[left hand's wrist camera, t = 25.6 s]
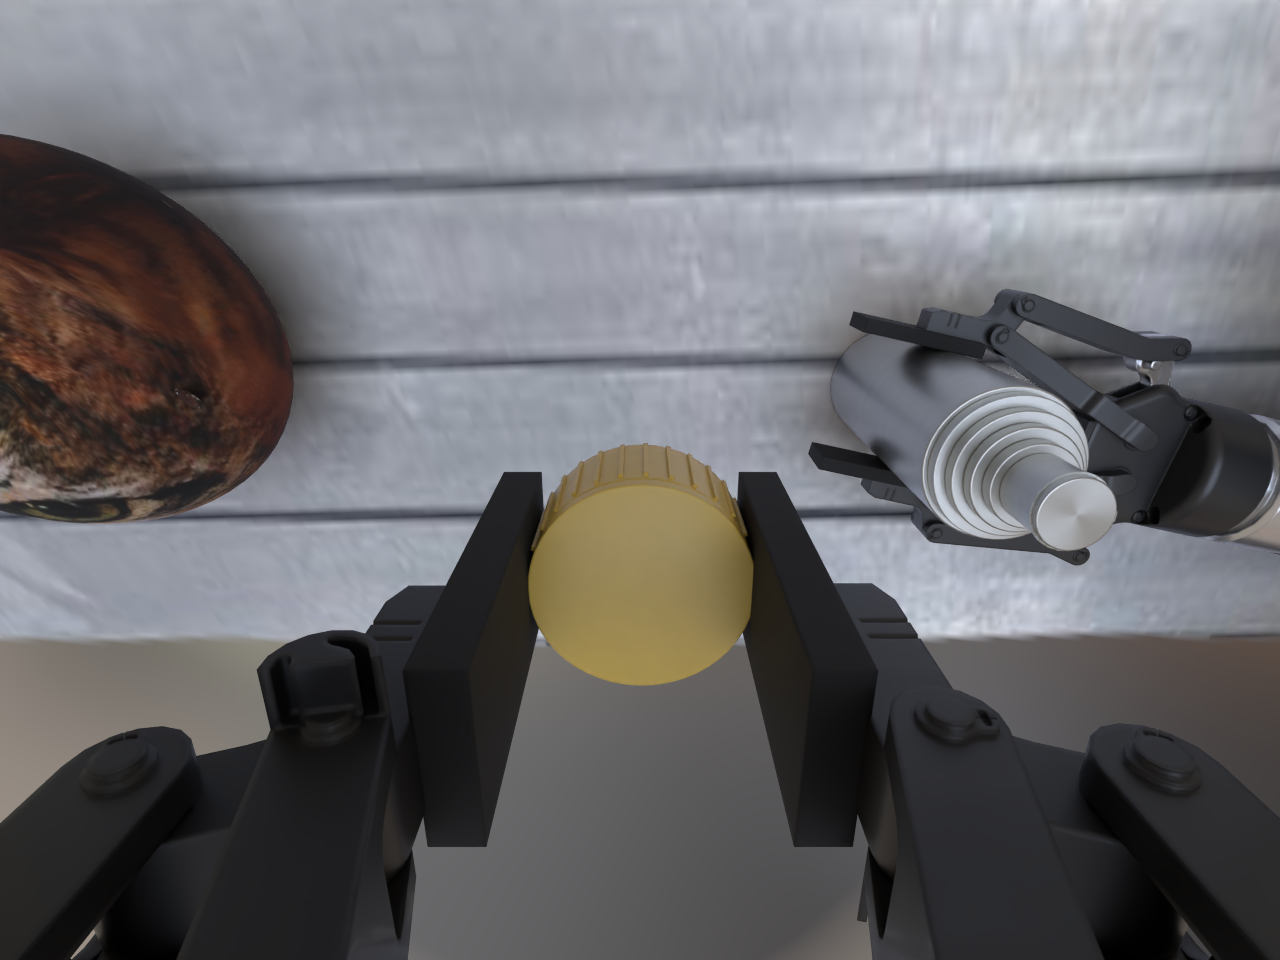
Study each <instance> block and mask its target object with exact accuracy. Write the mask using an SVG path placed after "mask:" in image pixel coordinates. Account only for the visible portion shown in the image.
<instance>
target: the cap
mask: <svg viewBox="0 0 1280 960" xmlns="http://www.w3.org/2000/svg"><path fill="white" fill-rule="evenodd" d="M746 536H748V534H747V530H746V527H745V524H744V521H743V518H742V515H741V512H740V509H739V506H738V503H737V500H736V498H732V497H731V495H730V493H729V491H728V488H727V485H726V482H725V481H724V480H722V481H721V480H720V479H719V478H718V477H717V476H716V474H715V473H713V472H712V470H711V467H710V466H709V465H707V466H705V465H704V464H702V463H701V462H699V461H698V460H696V459H695V458H693V457H692V455H691V454H689V453H688V455H686V454H684V453H682V452H679V451H676V450H673V449H671V447H669V446H666V447H660V446H654V445H648V443H643V445H629V446H625V445H620V447H618V448H614V449H611V450H608V451H604V452H603V451H599V452H598V454H597V455H595V456H593V457H591V458H589V459H588V460H586V461H585V462H583V461H581V462H579V463H578V466H577V467H576V468H575V469H574V470H573V471H571V472H570V473H569V474H568V475H567V476H566V475H564V476H563V477H562V480H561V483H560V485H559V486H558V488H557V489H556V491H555V492H554V493H553V492H551V494H550V496H549V499H548V503H547V506H546V509H545V511H543V513H542V516H541V519H540V522H539V525H538V528H537V532H536V535H535V538H534V541H533V544H532V547H531V551H534V553H533V556H532V559H531V562H530V567H529V573H528V591H529V603H530V606H531V610H532V613H533V616H534V619H535V621H536V623H537V625H538V627H539V629H540V631H541V632H542V634H543V635H544V637H545V639H546V640H547V641H548V642H549V644H550V645H551V646H552V647H553V648H554V650H555V651H557V652H558V653H559V654H560V655H561V656H562V657H563V658H564V659H565V660H567V661H568V662H570V663H571V664H572V665H574V666H575V667H577V668H579V669H581V670H582V671H584V672H586V673H588V674H590V675H593V676H595V677H598V678H600V679H604V680H607V681H611V682H615V683H620V684H626V685H657V684H664V683H670V682H673V681H677V680H681V679H684V678H686V677H689V676H691V675H694V674H696V673H698V672H700V671H702V670H703V669H705V668H707V667H709V666H710V665H712V664H713V663H714V662H716V661H717V660H719V659H720V658H721V657H722V656H723V655H724V654H725V653H726V652H728V651H729V650H730V648H731V647H732V646H733V645H734V644H735V643H736V641H737V640H738V639H739V637H740V636H741V634H742V632H743V631H744V629H745V627H746V625H747V623H748V621H749V619H750V614H751V600H752V585H753V568H754V562H753V559H752V556H751V552H750V549H749V546H748V543H747V540H746Z"/></svg>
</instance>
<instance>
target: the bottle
mask: <svg viewBox="0 0 1280 960" xmlns="http://www.w3.org/2000/svg"><path fill="white" fill-rule="evenodd" d="M831 398H832V403H833V406H834V408H835V410H836V412H837V414H838V416H839V417H840V418H841V420H842V421H843V422H844V423H845V424H846V425H847V426H848V427H849V428H850V429H851V430H852V431H853V432H854V433H855V434H856V435H857V436H858V437H859V438H860V439H861V440H862V441H863V442H864V443H865V444H866V445H867V446H868V447H869V448H870V449H871V450H872V451H873V452H874V453H875V454H876V455H877V456H878V457H879V458H880V459H881V460H882V461H883V462H884V463H885V464H886V465H887V466H888V468H889V469H890V470H891V471H892V472H893V473H894V474H895V475H896V476H897V477H898V478H899V479H900V480H901V481H902V482H903V483H904V484H905V485H906V486H907V487H908V488H909V489H910V490H911V491H912V492H913V493H914V494H915V495H916V496H917V497H918V498H919V499H920V500H921V501H922V502H923V503H924V504H925V505H926V506H927V507H928V508H929V509H930V510H931V511H932V512H933V513H934V514H935V515H936V516H937V517H938V518H939V519H940V520H941V521H942V522H943V523H945V524H946V525H947V526H949V527H951V528H952V529H954V530H956V531H958V532H961V533H963V534H967V535H971V536H976V537H980V538H984V539H999V540H1002V539H1011V538H1016V537H1020V536H1024V535H1026V534H1029V533H1032V534H1033V535H1034V536H1035V538H1036V539H1037V540H1038V541H1039V542H1040V543H1042V544H1043V545H1045V546H1046V547H1048V548H1051V549H1054V550H1057V551H1072V550H1078V549H1082V548H1085V547H1088V546H1090V545H1092V544H1093V543H1095V542H1097V541H1098V540H1099V539H1101V538H1102V537H1103V536H1104V535H1105V534H1106V533H1107V531H1109V530H1110V528H1111V526H1112V524H1113V523H1114V522H1115V519H1116V516H1117V512H1118V511H1117V502H1116V498H1115V495H1114V493H1113V491H1112V490H1111V489H1110V487H1109V486H1108V485H1107V484H1106V483H1105V481H1104V480H1102V479H1101V478H1100V477H1098V476H1097V475H1095V474H1092V473H1089V472H1087V469H1088V463H1089V446H1088V441H1087V437H1086V434H1085V432H1084V429H1083V427H1082V426H1081V424H1080V422H1079V421H1078V419H1077V417H1076V415H1075V414H1074V412H1073V411H1072V410H1071V408H1070V407H1069V406H1068V405H1067V404H1066V403H1065V402H1064V401H1062V400H1061V399H1060V398H1058V397H1057V396H1055V395H1054V394H1052V393H1050V392H1047V391H1045V390H1043V389H1041V388H1038V387H1036V386H1034V385H1031V384H1029V383H1027V382H1024V381H1022V380H1019V379H1017V378H1015V377H1012V376H1010V375H1008V374H1005V373H1003V372H1001V371H998V370H996V369H994V368H991V367H989V366H987V365H984V364H982V363H980V362H977V361H975V360H972V359H970V358H968V357H965V356H963V355H961V354H957V353H953V352H948V351H944V350H939V349H935V348H931V347H926V346H922V345H917V344H913V343H909V342H904V341H900V340H896V339H891V338H887V337H882V336H878V335H874V334H869V335H866V336H864V337H863V338H861V339H859V340H858V341H856V342H855V343H854V344H852V345H851V346H850V347H849V348H848V349H847V350H846V351H845V353H844V354H843V355H842V356H841V358H840V359H839V361H838V363H837V365H836V367H835V369H834V372H833V376H832V380H831Z"/></svg>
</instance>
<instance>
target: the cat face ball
mask: <svg viewBox="0 0 1280 960" xmlns="http://www.w3.org/2000/svg"><path fill="white" fill-rule="evenodd" d="M293 383H294V382H293V367H292V361H291V356H290V351H289V345H288V342H287V339H286V336H285V333H284V330H283V327H282V325H281V323H280V320H279V318H278V316H277V314H276V312H275V309H274V307H273V305H272V304H271V302H270V300H269V298H268V297H267V295H266V293H265V291H264V290H263V288H262V287H261V286H260V284H259V283H258V281H257V280H256V278H255V277H254V276H253V274H252V273H251V272H250V270H249V269H248V268H247V267H246V265H245V264H244V263H243V262H242V261H241V259H240V258H239V257H238V256H237V255H236V254H235V253H234V251H233V250H232V249H231V248H230V247H229V246H228V245H227V244H226V243H225V242H224V241H223V240H222V239H221V238H220V237H218V236H217V235H216V234H215V233H214V232H213V231H212V230H211V229H209V228H208V227H207V226H206V225H205V224H204V223H203V222H201V221H200V220H199V219H198V218H197V217H195V216H194V215H193V214H191V213H190V212H189V211H187V210H186V209H185V208H183V207H182V206H180V205H179V204H177V203H176V202H174V201H173V200H171V199H170V198H168V197H167V196H165V195H164V194H162V193H161V192H159V191H158V190H156V189H154V188H153V187H151V186H149V185H147V184H145V183H144V182H142V181H140V180H138V179H137V178H135V177H132V176H130V175H128V174H126V173H124V172H122V171H120V170H118V169H116V168H114V167H111V166H109V165H107V164H105V163H102V162H100V161H97V160H95V159H92V158H90V157H88V156H85V155H82V154H79V153H76V152H73V151H70V150H67V149H64V148H61V147H57V146H54V145H50V144H46V143H43V142H39V141H34V140H30V139H25V138H20V137H15V136H10V135H4V134H0V510H1V511H4V512H8V513H12V514H17V515H21V516H26V517H30V518H36V519H43V520H50V521H57V522H69V523H83V524H119V523H132V522H140V521H147V520H153V519H159V518H163V517H167V516H171V515H176V514H179V513H182V512H185V511H188V510H191V509H194V508H197V507H199V506H202V505H204V504H206V503H209V502H211V501H213V500H215V499H217V498H219V497H221V496H222V495H224V494H226V493H228V492H229V491H231V490H233V489H234V488H235V487H237V486H238V485H240V484H241V483H242V482H244V481H245V480H246V479H247V478H249V477H250V476H251V475H252V474H253V473H254V472H255V471H256V470H257V469H258V468H259V467H260V466H261V465H262V464H263V463H264V462H265V460H266V459H267V458H268V457H269V455H270V454H271V452H272V451H273V450H274V448H275V447H276V445H277V443H278V441H279V439H280V437H281V435H282V433H283V431H284V429H285V426H286V423H287V420H288V417H289V413H290V408H291V403H292V398H293Z"/></svg>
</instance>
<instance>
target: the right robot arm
mask: <svg viewBox="0 0 1280 960" xmlns="http://www.w3.org/2000/svg"><path fill="white" fill-rule="evenodd" d="M994 303H995V304H994V305H993V307H992V308H991V309H990V310H989V311H988V313H986V314H985V315H983V316H980V317H972V316H968V315H963V314H959V313H955V312H950V311H946V310H942V309H937V308H933V307H931V308H925V309H922V311H921V314H920V317H919V320H918V323H917V326H915V325H911V324H906V323H902V322H897V321H893V320H889V319H884V318H880V317H876V316H871V315H867V314H863V313H858V312H853V315H852V318H851V321H850V324H849V325H850V326H852V327H854V328H856V329H858V330H860V331H862V332H865V333H869V334H874V335H878V336H882V337H887V338H891V339H896V340H900V341H904V342H909V343H913V344H917V345H922V346H926V347H931V348H935V349H939V350H944V351H948V352H953V353H957V354H961V355H966V356H970V357H974V358H979V359H982V357H983V355H984V352H985V350H986V348H987V349H988V350H989V351H991V352H992V353H993V354H995V355H996V356H997V357H999V358H1000V359H1002V360H1003V361H1004V362H1006V363H1007V364H1008V365H1010V366H1011V367H1013V368H1014V369H1015V370H1017V371H1018V372H1019V373H1021V374H1022V375H1024V376H1025V377H1026V378H1028V379H1029V380H1030V381H1032V382H1033V383H1035V384H1036V385H1037V386H1039V387H1040V388H1041V389H1043V390H1045V391H1047V392H1050V393H1052V394H1054V395H1055V396H1057V397H1058V398H1060V399H1061V400H1062V401H1064V402H1065V403H1066V404H1067V405H1068V406H1069V407H1070V408H1071V410H1072V411H1073V412H1074V414H1075V415H1076V417H1077V419H1078V421H1079V422H1080V424H1081V426H1082V427H1083V429H1084V432H1085V434H1086V437H1087V441H1088V446H1089V463H1088V469H1087V472H1089V473H1092V474H1095V475H1097V476H1098V477H1100V478H1101V479H1102V480H1104V481H1105V483H1106V484H1107V485H1108V486H1109V487H1110V489H1111V490H1112V491H1113V493H1114V495H1115V498H1116V502H1117V511H1118V512H1117V516H1116V519H1115V522H1114V523H1113V524H1116V523H1123V522H1127V523H1133V524H1137V525H1141V526H1146V527H1151V528H1155V529H1160V530H1165V531H1169V532H1174V533H1179V534H1183V535H1188V536H1194V537H1202V538H1204V539H1207V540H1211V541H1215V542H1220V543H1225V544H1230V545H1235V546H1240V547H1245V548H1250V549H1255V550H1260V551H1265V552H1271V553H1275V554H1280V420H1278V419H1274V418H1270V417H1266V416H1261V415H1255V414H1248V413H1245V412H1243V411H1239V410H1235V409H1231V408H1226V407H1222V406H1218V405H1213V404H1209V403H1205V402H1200V401H1196V400H1192V399H1187V398H1183V397H1181V396H1180V395H1179V394H1178V393H1177V392H1176V390H1175V389H1173V388H1172V387H1170V386H1169V382H1170V378H1171V374H1172V370H1173V366H1174V362H1175V361H1181V360H1183V359H1185V358H1186V357H1187V356H1188V355H1189V354H1190V351H1191V346H1192V345H1191V343H1190V341H1189V340H1187V339H1184V338H1180V337H1176V336H1171V335H1167V334H1162V333H1157V332H1152V331H1144V332H1132V331H1129V330H1126V329H1124V328H1121V327H1119V326H1116V325H1113V324H1111V323H1108V322H1106V321H1103V320H1100V319H1098V318H1095V317H1092V316H1090V315H1087V314H1085V313H1082V312H1079V311H1077V310H1074V309H1072V308H1069V307H1066V306H1064V305H1061V304H1059V303H1056V302H1053V301H1051V300H1048V299H1045V298H1043V297H1040V296H1038V295H1035V294H1031V293H1026V292H1021V291H1016V290H1010V289H1005V290H1002V291H1001V292H999V293H998V294H997V296H996V297H995V301H994ZM1024 320H1025V321H1028V322H1030V323H1033V324H1036V325H1038V326H1041V327H1044V328H1046V329H1049V330H1051V331H1054V332H1057V333H1059V334H1062V335H1065V336H1067V337H1070V338H1073V339H1075V340H1078V341H1081V342H1083V343H1086V344H1088V345H1091V346H1094V347H1096V348H1099V349H1102V350H1105V351H1108V352H1112V353H1115V354H1119V355H1122V356H1123V361H1124V362H1125V364H1126V367H1127V368H1128V369H1130V370H1133V371H1136V372H1138V374H1139V375H1140V381H1139V382H1136V383H1133V384H1131V385H1128V386H1126V387H1123V388H1120V389H1118V390H1115V391H1113V392H1110V393H1107V394H1105V395H1103V394H1101V393H1099V392H1097V391H1096V390H1094V389H1093V388H1091V387H1090V386H1089V385H1087V384H1086V383H1085V382H1083V381H1082V380H1081V379H1079V378H1078V377H1077V376H1075V375H1074V374H1073V373H1071V372H1070V371H1069V370H1067V369H1066V368H1064V367H1063V366H1062V365H1060V364H1059V363H1058V362H1056V361H1055V360H1054V359H1052V358H1051V357H1050V356H1048V355H1047V354H1046V353H1044V352H1043V351H1042V350H1040V349H1039V348H1037V347H1036V346H1035V345H1033V344H1032V343H1031V342H1029V341H1028V340H1027V339H1025V338H1024V337H1023V336H1021V335H1020V334H1019V333H1017V332H1016V329H1017V328H1018V327H1019V326H1020V324H1021V323H1022V322H1023V321H1024ZM808 454H809V456H810V457H811V459H812V460H813V461H814V463H815V464H816V466H817V467H818V468H819V469H821V470H826V471H830V472H835V473H840V474H844V475H849V476H854V477H859V478H863V479H862V482H861V485H862V486H863V487H864V489H865V490H866V491H867V492H868V493H869V494H870V495H872V496H873V497H875V498H879V499H885V500H889V501H894V502H898V503H903V504H908V505H913V506H914V512H913V513H912V515H911V520H912V523H913V524H914V525H915V526H916V527H917V528H918V529H919V531H920V532H921V533H922V534H923V535H924V536H925V537H926V538H927V539H928V540H929V541H930V542H933V543H942V544H953V545H964V546H975V547H986V548H997V549H1007V550H1018V551H1029V552H1040V553H1050V554H1052V555H1054V556H1056V557H1058V558H1060V559H1062V560H1064V561H1066V562H1069V563H1071V564H1073V565H1082V564H1084V563H1085V562H1086V561H1087V560H1088V559H1089V556H1090V553H1089V550H1088V549H1087V548H1082V549H1078V550H1072V551H1057V550H1054V549H1051V548H1048V547H1046V546H1045V545H1043V544H1042V543H1040V542H1039V541H1038V540H1037V539H1036V538H1035V536H1034V535H1033V534H1032V533H1029V534H1026V535H1024V536H1020V537H1016V538H1011V539H1002V540H999V539H984V538H980V537H976V536H971V535H967V534H963V533H961V532H958V531H956V530H954V529H952V528H951V527H949V526H947V525H946V524H945V523H943V522H942V521H941V520H940V519H939V518H938V517H937V516H936V515H935V514H934V513H933V512H932V511H931V510H930V509H929V508H928V507H927V506H926V505H925V504H924V503H923V502H922V501H921V500H920V499H919V498H918V497H917V496H916V495H915V494H914V493H913V492H912V491H911V490H910V489H909V488H908V487H907V486H906V485H905V484H904V483H903V482H902V481H901V480H900V479H899V478H898V477H897V476H896V475H895V474H894V473H893V472H892V471H891V470H890V469H889V468H888V466H887V465H886V464H885V463H884V462H883V461H882V460H881V459H880V458H879V457H878V456H874V455H870V454H865V453H860V452H856V451H851V450H847V449H842V448H837V447H833V446H828V445H823V444H819V443H814V442H812V444H811V447H810V450H809V453H808ZM1113 524H1112V525H1113Z"/></svg>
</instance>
